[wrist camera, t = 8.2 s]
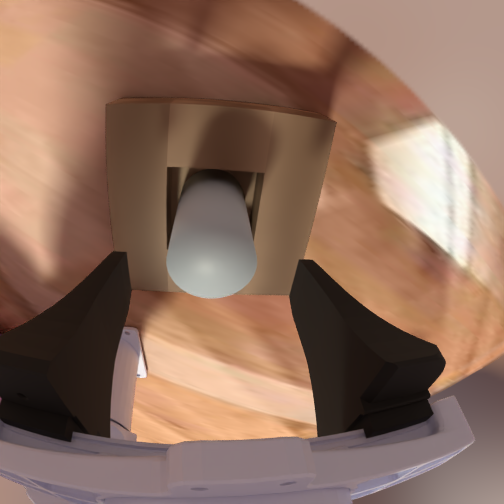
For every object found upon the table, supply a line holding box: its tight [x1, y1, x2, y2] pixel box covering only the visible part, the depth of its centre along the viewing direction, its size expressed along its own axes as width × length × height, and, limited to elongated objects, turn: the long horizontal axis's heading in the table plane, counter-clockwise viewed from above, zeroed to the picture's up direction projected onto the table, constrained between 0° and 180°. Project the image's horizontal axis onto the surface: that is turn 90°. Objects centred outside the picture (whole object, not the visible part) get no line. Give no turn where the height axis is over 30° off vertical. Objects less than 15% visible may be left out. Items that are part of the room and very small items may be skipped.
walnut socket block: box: [106, 97, 337, 295], centre depth 18 cm, size 12×12×3 cm
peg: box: [166, 169, 257, 298], centre depth 16 cm, size 4×4×7 cm
